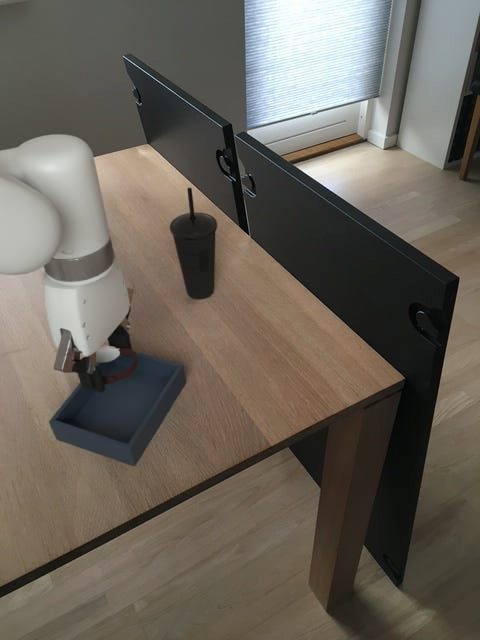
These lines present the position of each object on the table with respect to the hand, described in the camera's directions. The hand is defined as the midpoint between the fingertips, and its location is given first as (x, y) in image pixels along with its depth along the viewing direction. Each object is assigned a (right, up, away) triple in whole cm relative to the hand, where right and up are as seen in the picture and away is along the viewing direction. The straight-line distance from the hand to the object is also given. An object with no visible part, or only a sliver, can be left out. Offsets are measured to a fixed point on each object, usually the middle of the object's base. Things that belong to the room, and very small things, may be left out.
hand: (108, 369), depth 70 cm
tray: (+1, -6, +6) cm, 9 cm away
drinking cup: (+10, +11, +26) cm, 30 cm away
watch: (0, -1, +1) cm, 1 cm away
